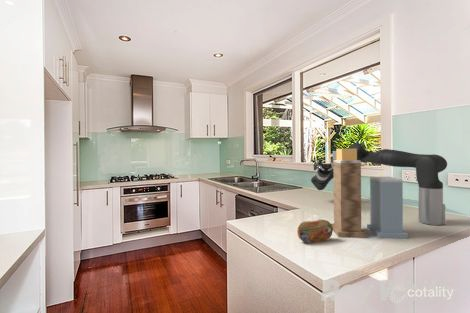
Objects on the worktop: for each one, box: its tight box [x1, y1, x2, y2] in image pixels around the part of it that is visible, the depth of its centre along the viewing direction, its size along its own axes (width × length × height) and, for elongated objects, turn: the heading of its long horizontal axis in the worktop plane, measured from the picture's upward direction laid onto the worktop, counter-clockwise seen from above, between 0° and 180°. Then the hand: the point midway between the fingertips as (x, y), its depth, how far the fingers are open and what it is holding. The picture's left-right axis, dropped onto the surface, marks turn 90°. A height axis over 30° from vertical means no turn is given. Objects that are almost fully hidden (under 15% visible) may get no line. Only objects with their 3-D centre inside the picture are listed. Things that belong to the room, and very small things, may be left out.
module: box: [332, 148, 357, 161], centre depth 110 cm, size 6×18×5 cm, turn 172°
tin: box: [297, 219, 334, 244], centre depth 97 cm, size 15×3×8 cm, turn 105°
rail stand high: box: [330, 159, 367, 239], centre depth 105 cm, size 11×12×32 cm
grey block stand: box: [366, 176, 409, 240], centre depth 103 cm, size 11×12×24 cm
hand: (329, 160), depth 135 cm, fingers open, 8 cm apart
